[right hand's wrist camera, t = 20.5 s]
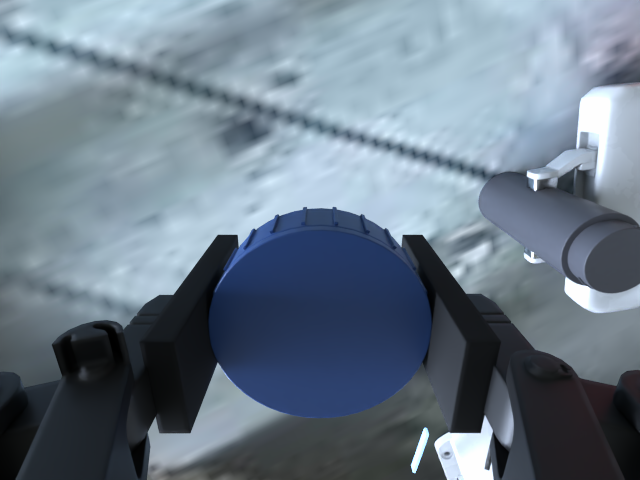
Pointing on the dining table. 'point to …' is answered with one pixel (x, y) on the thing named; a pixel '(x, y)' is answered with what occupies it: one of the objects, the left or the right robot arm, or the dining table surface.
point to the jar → (566, 232)
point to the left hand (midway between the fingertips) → (528, 218)
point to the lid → (320, 315)
